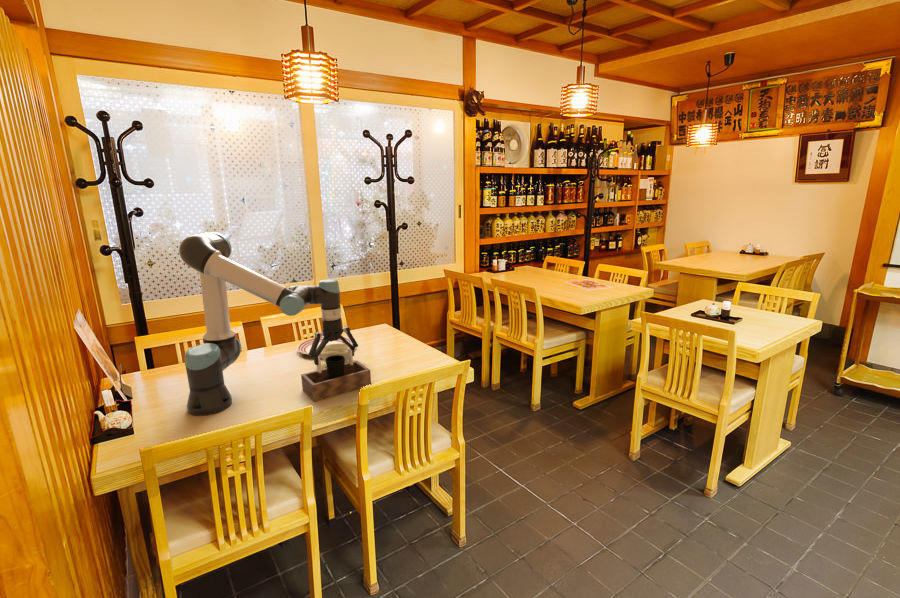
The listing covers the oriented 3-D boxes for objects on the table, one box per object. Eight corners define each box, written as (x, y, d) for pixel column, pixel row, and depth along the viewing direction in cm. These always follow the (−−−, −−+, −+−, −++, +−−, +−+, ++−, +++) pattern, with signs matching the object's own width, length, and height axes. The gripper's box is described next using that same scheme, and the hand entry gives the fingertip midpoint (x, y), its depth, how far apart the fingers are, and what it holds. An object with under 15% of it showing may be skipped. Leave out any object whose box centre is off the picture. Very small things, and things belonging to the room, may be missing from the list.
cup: (341, 390, 181) (339, 362, 178) (324, 388, 182) (322, 361, 179) (349, 382, 188) (347, 355, 185) (333, 381, 189) (330, 354, 187)
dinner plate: (345, 359, 217) (345, 352, 216) (289, 359, 218) (289, 353, 217) (357, 341, 244) (357, 335, 243) (307, 341, 244) (307, 335, 244)
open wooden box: (314, 402, 173) (312, 385, 171) (302, 390, 183) (301, 374, 182) (371, 385, 187) (370, 369, 185) (357, 375, 197) (356, 360, 196)
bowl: (324, 378, 206) (308, 354, 210) (356, 364, 218) (341, 341, 223) (332, 361, 197) (315, 337, 201) (365, 348, 209) (348, 325, 214)
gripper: (304, 326, 168) (308, 378, 173) (364, 314, 182) (367, 363, 187) (297, 321, 174) (302, 372, 179) (356, 311, 188) (359, 358, 193)
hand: (335, 367), depth 183 cm, fingers open, 13 cm apart
